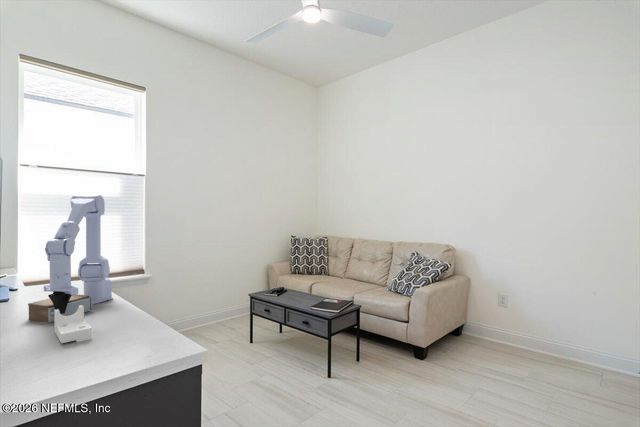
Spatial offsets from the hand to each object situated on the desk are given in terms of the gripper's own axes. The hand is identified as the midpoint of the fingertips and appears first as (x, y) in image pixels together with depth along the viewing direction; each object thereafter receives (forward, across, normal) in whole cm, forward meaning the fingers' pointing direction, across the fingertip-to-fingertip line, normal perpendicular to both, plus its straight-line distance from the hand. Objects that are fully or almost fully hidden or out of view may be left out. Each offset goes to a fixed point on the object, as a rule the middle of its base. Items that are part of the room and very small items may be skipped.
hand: (61, 313), depth 116 cm
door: (+2, -1, +4) cm, 5 cm away
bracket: (+3, +18, -8) cm, 20 cm away
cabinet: (+2, -7, +4) cm, 9 cm away
